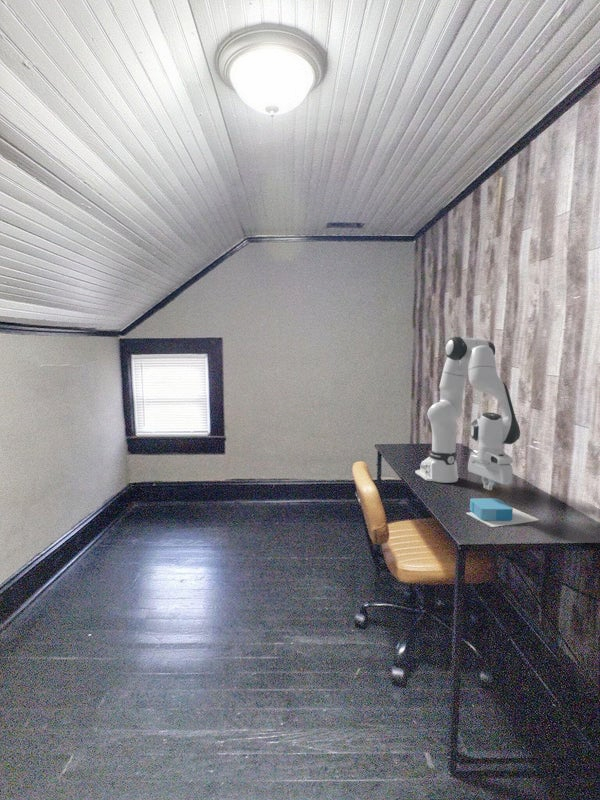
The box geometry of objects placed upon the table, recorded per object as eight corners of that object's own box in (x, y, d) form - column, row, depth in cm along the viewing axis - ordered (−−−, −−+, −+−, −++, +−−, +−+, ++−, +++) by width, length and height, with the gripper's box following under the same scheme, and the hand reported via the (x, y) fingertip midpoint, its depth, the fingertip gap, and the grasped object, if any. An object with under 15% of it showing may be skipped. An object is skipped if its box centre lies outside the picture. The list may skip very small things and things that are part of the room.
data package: (468, 509, 169) (481, 520, 157) (468, 498, 169) (482, 509, 157) (497, 509, 170) (513, 520, 158) (498, 498, 169) (514, 509, 157)
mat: (465, 513, 165) (465, 512, 165) (510, 507, 172) (510, 506, 172) (492, 527, 152) (492, 526, 152) (539, 520, 159) (539, 519, 159)
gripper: (464, 449, 175) (463, 482, 177) (502, 461, 156) (500, 497, 157) (477, 448, 177) (475, 480, 179) (516, 460, 158) (514, 496, 159)
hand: (487, 489), depth 168 cm, fingers closed
